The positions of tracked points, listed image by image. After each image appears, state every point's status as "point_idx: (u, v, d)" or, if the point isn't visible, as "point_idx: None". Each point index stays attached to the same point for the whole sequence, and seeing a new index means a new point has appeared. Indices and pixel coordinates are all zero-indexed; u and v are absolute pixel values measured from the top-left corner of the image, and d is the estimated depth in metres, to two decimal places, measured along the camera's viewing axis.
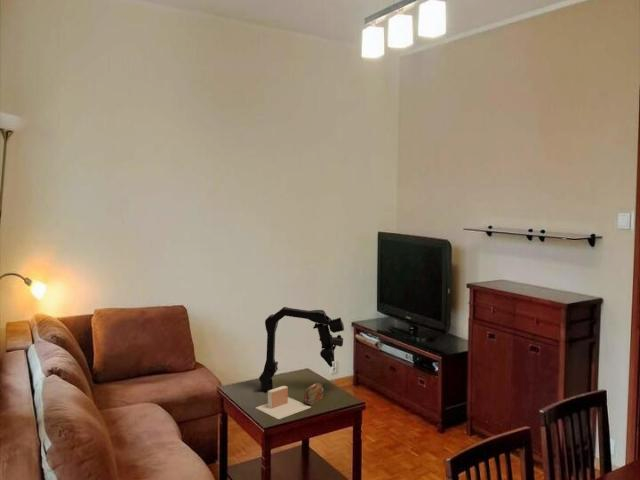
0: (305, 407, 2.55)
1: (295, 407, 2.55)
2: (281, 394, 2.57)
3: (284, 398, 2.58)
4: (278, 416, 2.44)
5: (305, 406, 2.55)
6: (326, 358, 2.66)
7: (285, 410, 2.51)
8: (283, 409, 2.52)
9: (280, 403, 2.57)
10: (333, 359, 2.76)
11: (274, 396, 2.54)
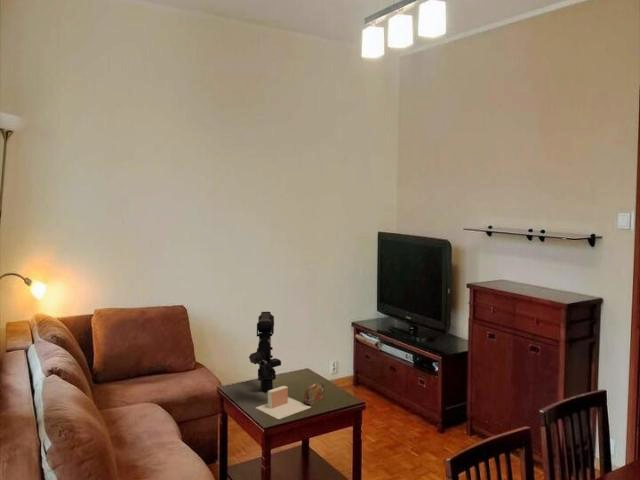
0: (305, 407, 2.55)
1: (295, 407, 2.55)
2: (281, 394, 2.57)
3: (284, 398, 2.58)
4: (278, 416, 2.44)
5: (305, 406, 2.55)
6: None
7: (285, 410, 2.51)
8: (283, 409, 2.52)
9: (280, 403, 2.57)
10: None
11: (274, 396, 2.54)
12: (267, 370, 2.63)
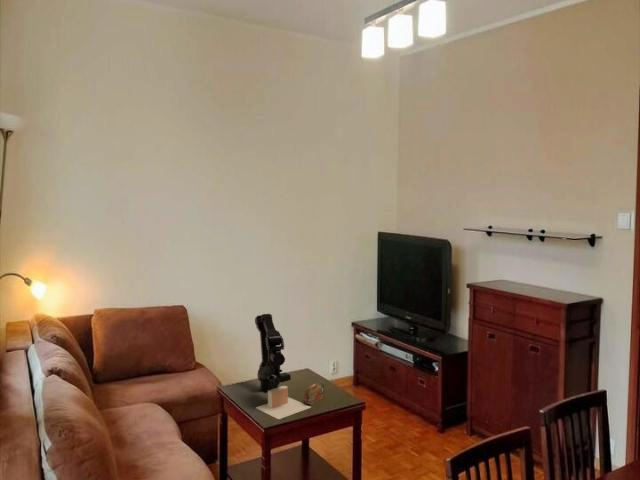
0: (305, 407, 2.55)
1: (295, 407, 2.55)
2: (281, 394, 2.57)
3: (284, 398, 2.58)
4: (278, 416, 2.44)
5: (305, 406, 2.55)
6: None
7: (285, 410, 2.51)
8: (283, 409, 2.52)
9: (280, 403, 2.57)
10: None
11: (274, 396, 2.54)
12: (276, 384, 2.58)
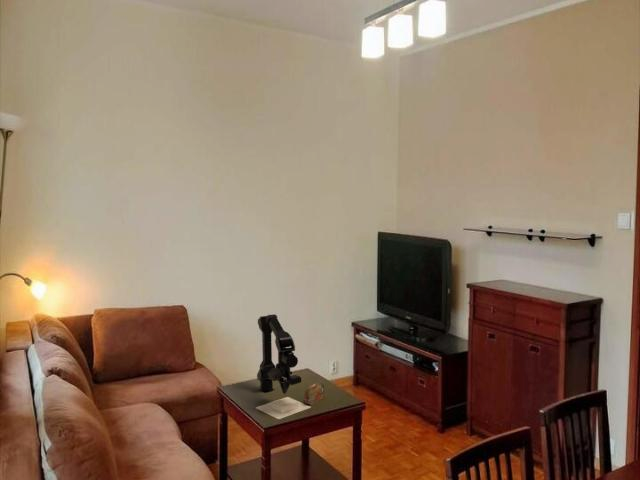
0: (305, 407, 2.55)
1: None
2: None
3: None
4: (278, 416, 2.44)
5: (305, 406, 2.55)
6: None
7: None
8: None
9: None
10: None
11: None
12: (286, 387, 2.52)
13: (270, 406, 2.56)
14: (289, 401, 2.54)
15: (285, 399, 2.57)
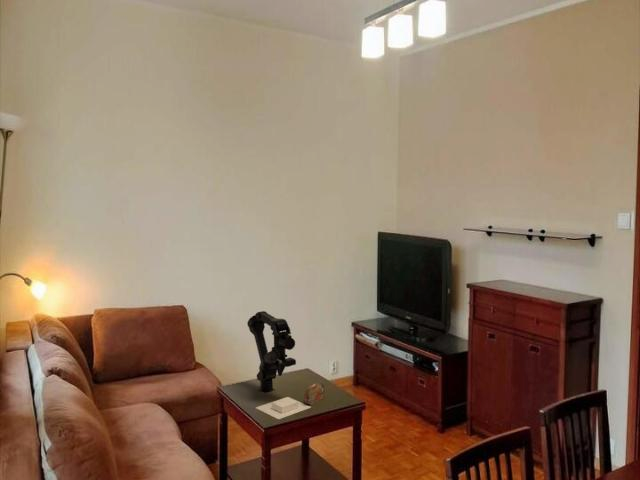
0: (305, 407, 2.55)
1: None
2: None
3: None
4: (278, 416, 2.44)
5: (305, 406, 2.55)
6: None
7: None
8: None
9: None
10: None
11: None
12: (282, 369, 2.64)
13: (270, 406, 2.56)
14: (289, 401, 2.54)
15: (285, 399, 2.57)
